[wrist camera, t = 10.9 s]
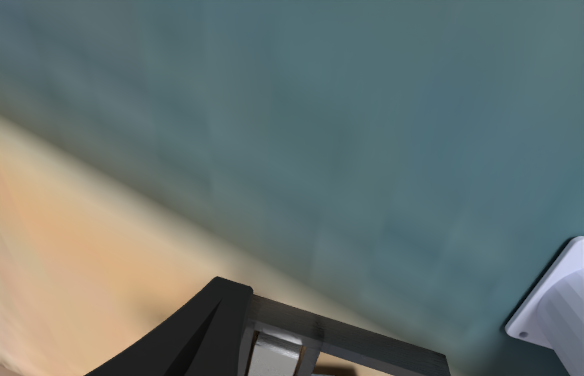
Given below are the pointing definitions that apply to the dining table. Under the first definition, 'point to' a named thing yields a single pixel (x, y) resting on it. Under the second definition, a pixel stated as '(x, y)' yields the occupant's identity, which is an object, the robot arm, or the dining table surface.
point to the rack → (323, 345)
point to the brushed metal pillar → (320, 375)
